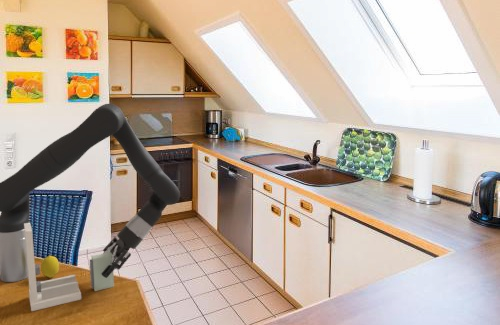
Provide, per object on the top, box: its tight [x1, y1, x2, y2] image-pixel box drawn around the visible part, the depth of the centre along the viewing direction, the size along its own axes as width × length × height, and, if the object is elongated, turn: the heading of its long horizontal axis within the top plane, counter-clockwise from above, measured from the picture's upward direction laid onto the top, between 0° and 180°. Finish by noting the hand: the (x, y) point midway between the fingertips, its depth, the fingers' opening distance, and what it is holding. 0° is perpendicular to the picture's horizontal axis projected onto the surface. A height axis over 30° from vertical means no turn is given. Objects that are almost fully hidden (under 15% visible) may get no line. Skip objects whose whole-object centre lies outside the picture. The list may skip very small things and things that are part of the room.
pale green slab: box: [89, 252, 115, 292], centre depth 127 cm, size 7×3×11 cm, turn 122°
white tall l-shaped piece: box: [24, 222, 82, 312], centre depth 119 cm, size 14×9×24 cm, turn 122°
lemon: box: [40, 255, 60, 279], centre depth 133 cm, size 6×6×8 cm
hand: (100, 270), depth 127 cm, fingers open, 8 cm apart
